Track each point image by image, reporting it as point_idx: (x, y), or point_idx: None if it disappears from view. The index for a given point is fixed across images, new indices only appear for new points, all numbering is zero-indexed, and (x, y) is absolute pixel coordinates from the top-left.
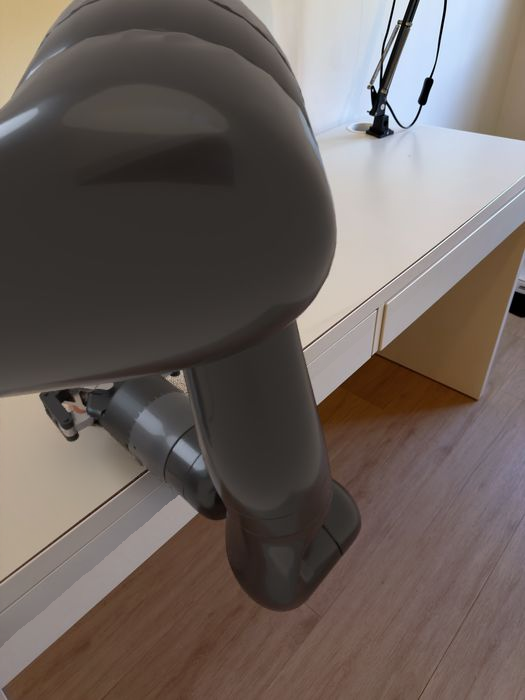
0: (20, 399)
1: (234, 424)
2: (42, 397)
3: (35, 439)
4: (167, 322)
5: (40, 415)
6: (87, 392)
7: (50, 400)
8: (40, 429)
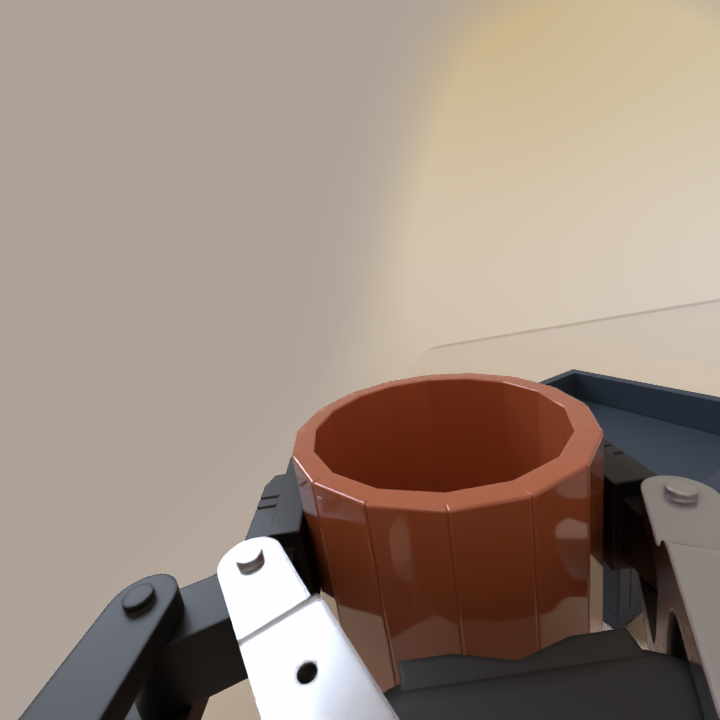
0: None
1: None
2: (110, 616)
3: (212, 712)
4: None
5: None
6: (387, 679)
7: (90, 675)
8: None
